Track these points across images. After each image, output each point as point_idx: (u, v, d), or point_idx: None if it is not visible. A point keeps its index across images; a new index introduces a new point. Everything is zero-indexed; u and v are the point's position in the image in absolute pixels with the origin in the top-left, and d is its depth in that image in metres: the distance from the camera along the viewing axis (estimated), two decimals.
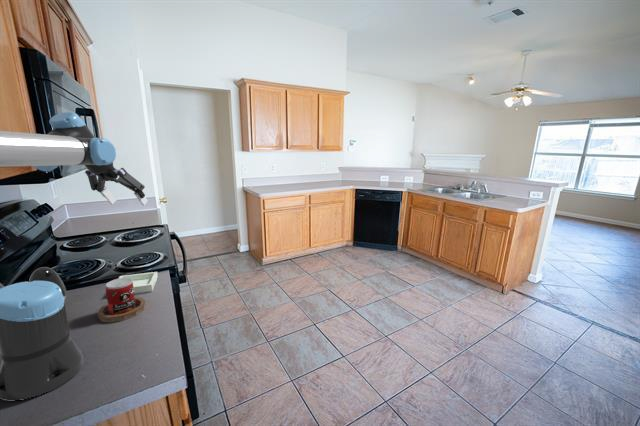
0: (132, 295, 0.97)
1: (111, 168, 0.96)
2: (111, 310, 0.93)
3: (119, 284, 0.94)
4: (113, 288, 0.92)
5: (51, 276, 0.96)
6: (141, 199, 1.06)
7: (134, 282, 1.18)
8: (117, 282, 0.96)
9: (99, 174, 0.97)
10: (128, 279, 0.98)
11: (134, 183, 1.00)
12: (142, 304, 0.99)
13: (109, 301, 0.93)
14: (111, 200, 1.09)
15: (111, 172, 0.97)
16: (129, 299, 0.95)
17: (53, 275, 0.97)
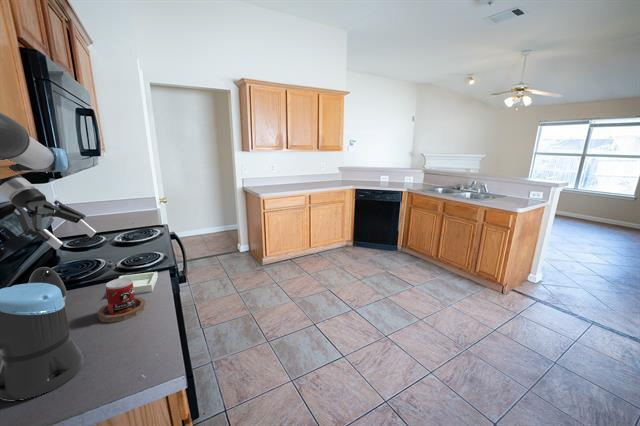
0: (132, 295, 0.97)
1: None
2: (111, 310, 0.93)
3: (119, 284, 0.94)
4: (113, 288, 0.92)
5: (51, 276, 0.96)
6: None
7: (134, 282, 1.18)
8: (117, 282, 0.96)
9: None
10: (128, 279, 0.98)
11: None
12: (142, 304, 0.99)
13: (109, 301, 0.93)
14: None
15: (49, 202, 0.94)
16: (129, 299, 0.95)
17: (53, 275, 0.97)
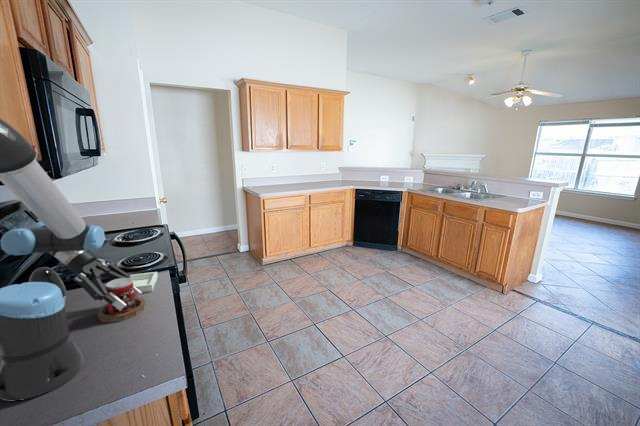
0: (132, 295, 0.97)
1: None
2: (111, 310, 0.93)
3: (119, 284, 0.94)
4: (113, 288, 0.92)
5: (51, 276, 0.96)
6: None
7: (134, 282, 1.18)
8: (117, 282, 0.96)
9: (91, 268, 0.92)
10: (128, 279, 0.98)
11: None
12: (142, 304, 0.99)
13: None
14: None
15: (100, 262, 0.97)
16: (129, 299, 0.95)
17: (53, 275, 0.97)
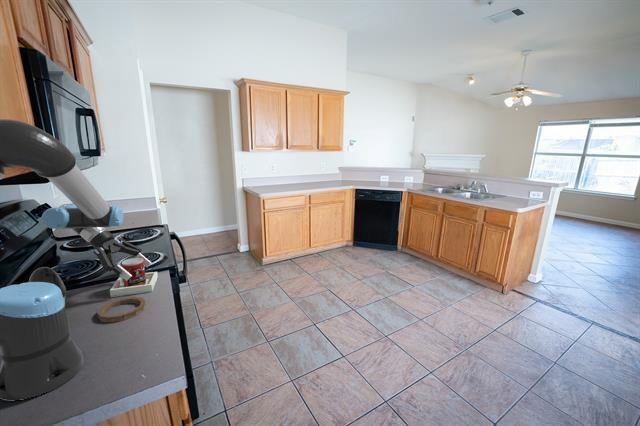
0: (143, 272, 1.15)
1: None
2: (126, 284, 1.11)
3: (132, 262, 1.12)
4: (128, 265, 1.10)
5: (51, 276, 0.96)
6: None
7: None
8: (130, 261, 1.14)
9: (109, 244, 1.10)
10: (139, 258, 1.16)
11: None
12: (142, 304, 0.99)
13: None
14: None
15: (115, 240, 1.15)
16: (141, 275, 1.13)
17: (53, 275, 0.97)
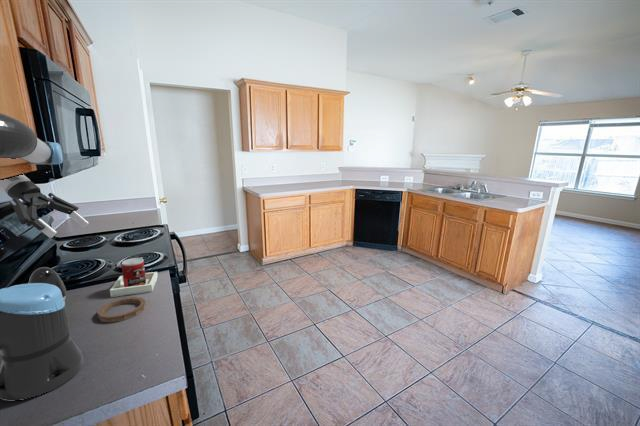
0: (143, 272, 1.15)
1: None
2: (126, 284, 1.11)
3: (133, 262, 1.12)
4: (128, 265, 1.10)
5: (51, 276, 0.96)
6: None
7: None
8: (131, 261, 1.14)
9: (32, 197, 0.94)
10: (140, 259, 1.16)
11: None
12: (142, 304, 0.99)
13: (124, 276, 1.11)
14: None
15: None
16: (141, 275, 1.13)
17: (53, 275, 0.97)
